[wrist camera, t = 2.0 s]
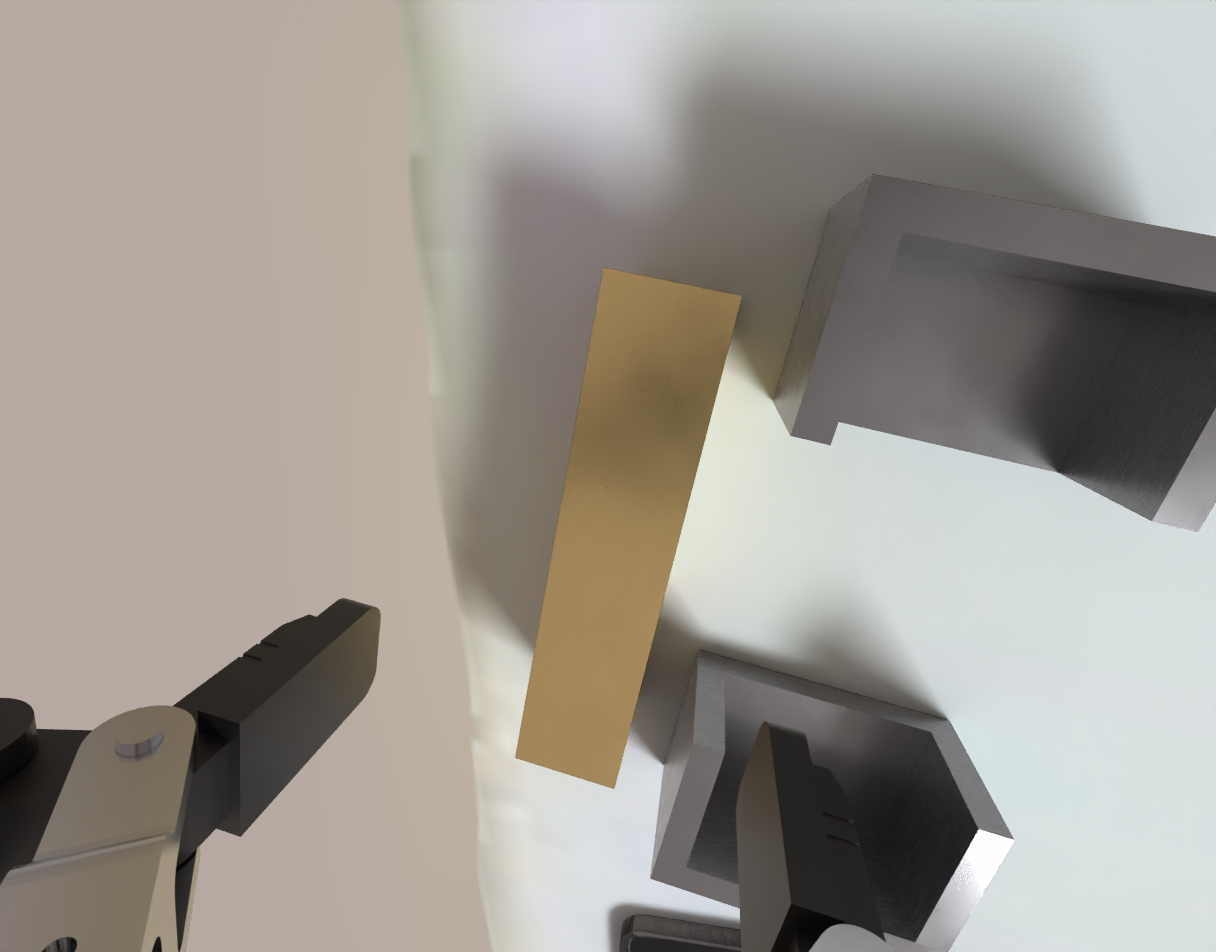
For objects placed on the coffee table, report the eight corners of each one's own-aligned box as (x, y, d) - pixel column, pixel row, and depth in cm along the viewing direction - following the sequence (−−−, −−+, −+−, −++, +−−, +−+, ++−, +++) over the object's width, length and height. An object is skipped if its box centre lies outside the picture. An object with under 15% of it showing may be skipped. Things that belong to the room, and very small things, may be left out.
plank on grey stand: (831, 208, 17) (872, 174, 12) (1172, 272, 16) (1357, 262, 11) (663, 766, 24) (650, 878, 20) (891, 837, 23) (934, 973, 19)
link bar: (632, 275, 19) (603, 268, 14) (736, 296, 19) (742, 296, 14) (554, 668, 24) (515, 757, 20) (635, 692, 24) (614, 789, 19)
